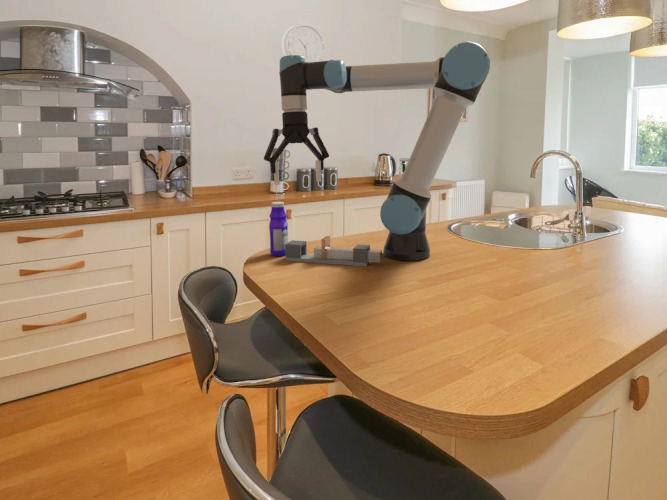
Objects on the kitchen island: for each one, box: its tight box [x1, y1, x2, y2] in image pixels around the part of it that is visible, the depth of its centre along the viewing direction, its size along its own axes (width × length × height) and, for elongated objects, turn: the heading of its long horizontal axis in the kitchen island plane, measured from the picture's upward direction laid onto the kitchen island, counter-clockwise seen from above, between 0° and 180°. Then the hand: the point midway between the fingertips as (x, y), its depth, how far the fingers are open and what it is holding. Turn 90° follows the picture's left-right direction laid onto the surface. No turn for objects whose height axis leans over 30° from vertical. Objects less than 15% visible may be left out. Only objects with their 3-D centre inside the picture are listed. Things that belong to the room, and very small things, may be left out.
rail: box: [285, 239, 371, 267], centre depth 148 cm, size 26×6×5 cm, turn 74°
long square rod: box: [313, 235, 383, 263], centre depth 146 cm, size 21×5×6 cm, turn 74°
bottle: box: [268, 201, 289, 257], centre depth 155 cm, size 7×6×17 cm
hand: (298, 182), depth 146 cm, fingers open, 13 cm apart
